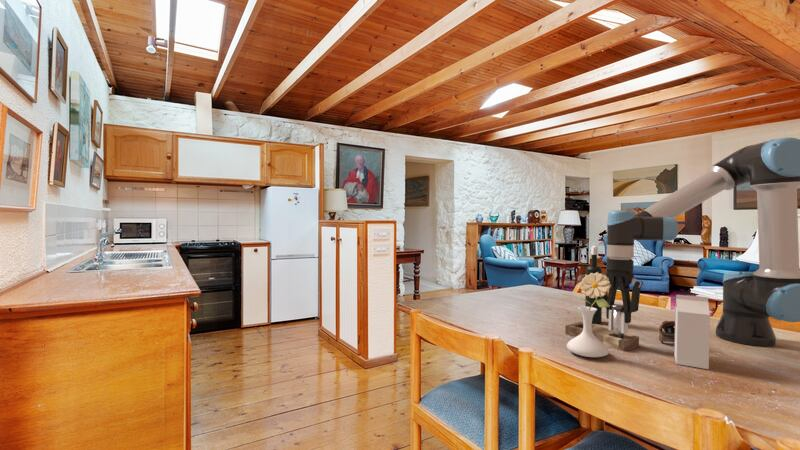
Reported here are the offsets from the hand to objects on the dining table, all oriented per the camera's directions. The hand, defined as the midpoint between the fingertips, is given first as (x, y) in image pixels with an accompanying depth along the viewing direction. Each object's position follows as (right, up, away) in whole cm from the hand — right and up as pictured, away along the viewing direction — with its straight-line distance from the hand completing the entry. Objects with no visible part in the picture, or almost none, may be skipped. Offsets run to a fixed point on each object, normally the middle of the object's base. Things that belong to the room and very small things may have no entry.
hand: (618, 330), depth 122 cm
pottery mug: (+20, -5, +3) cm, 21 cm away
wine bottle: (+6, -4, +27) cm, 28 cm away
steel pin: (0, -5, 0) cm, 5 cm away
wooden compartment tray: (-3, -4, +5) cm, 7 cm away
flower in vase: (-14, -5, -9) cm, 17 cm away
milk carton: (+12, -5, -15) cm, 20 cm away
